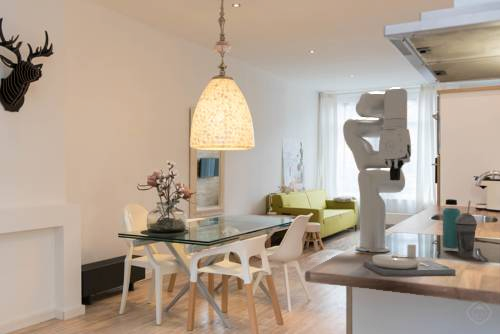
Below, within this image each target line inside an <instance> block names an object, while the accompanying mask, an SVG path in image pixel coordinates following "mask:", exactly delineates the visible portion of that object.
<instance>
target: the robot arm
mask: <svg viewBox="0 0 500 334" xmlns="http://www.w3.org/2000/svg"><path fill="white" fill-rule="evenodd" d="M355 112H356V114H357V115H358V116H360V117H351V118H349V119H347V120H345V121H344V123H343V128H342V130H343V131H342V133H343V138H344V142H345V144H346V146H347V147H348V149H349V150H350V151H351V152H352V155H353V159H354V162H355V165H356V167H357V169H358V171H359V173H358V174H357V183H358V189H359V191H358V192H359V203H360V204H359V213H360V214H359V244H358V245H355V249H356V250H357V251H361V252H366V251H369V252H368V253H386V252H389V251H390V247H389V246H387V245H386V223H387V221H386V215H387V214H386V213H387V209H386V207H387V206H386V202H385V201H384V199H383V197H382V196H381V195H380V194H386V193H388V194H389V193H390V194H396V193H397V194H398V193H400V192H402V191H403V190H404V188H405V186H406V178H405V173H404V172H403V169H402V168H403V166H404V165H405V164H407V163H410V162H411V156H412V143H411V135H410V130H409V128H408V91H407V89H405V88H403V87H392V88H388V89H386V90H385V91H369V92H364V93H362V94H361V95H360V97H359V99H358V101H357V103H356V105H355ZM366 138H370V139H371V138H374V139H375V138H379V142H378V150H374V148H373V145H372V144H371V142H369V141H368V140H367V139H366Z"/></svg>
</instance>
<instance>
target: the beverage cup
mask: <svg viewBox="0 0 500 334" xmlns="http://www.w3.org/2000/svg"><path fill="white" fill-rule="evenodd" d="M470 207H471V200H468V205H467V211H466V212H462V213H460V215H459V216H458V217H457V218H456V222H455V226H456V230H457V242H458V249H457V251H458V257H461V258H474V249H475V248H474V247H475V240H476V239H475V238H476V231H477V226H478V223H477V220H476V218H475V216H474V215H473V214H471V213H470Z"/></svg>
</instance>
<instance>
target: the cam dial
mask: <svg viewBox="0 0 500 334" xmlns="http://www.w3.org/2000/svg"><path fill="white" fill-rule="evenodd" d="M406 246H407V247H406V248H407V252H406V254H407V255H405V254H404V255H403V254H393V253H391V254H388V253H382V254H381V253H378V254H374V255H373V256H372V261H373V264H374V265H376V266H380V267H386V268H395V269H410V268H416V267H418V260H419V259H418V258H417V255H416V254H417V251H416V250H417V245H416V244H413V243H412V244H411V243H409V244H407V245H406Z"/></svg>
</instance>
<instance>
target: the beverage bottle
mask: <svg viewBox="0 0 500 334" xmlns="http://www.w3.org/2000/svg"><path fill="white" fill-rule="evenodd" d="M444 205H445V206H446V205H449V206H458V200H457V199H453V198H452V199H451V198H449V199H445V204H444ZM460 214H461V211H460V209H458V207H457V208H456V207H444V209H443V210H442V225H441V226H442V239H441V240H442V247H443V248H446V249H452V250H455V249H457V250H458V242H457V230H456V226H455V222H456V218H457V217H458V216H459V215H460Z"/></svg>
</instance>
